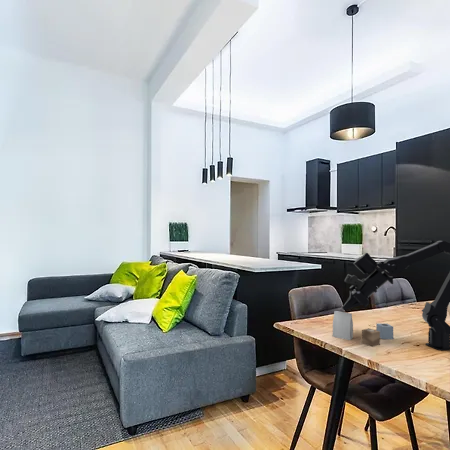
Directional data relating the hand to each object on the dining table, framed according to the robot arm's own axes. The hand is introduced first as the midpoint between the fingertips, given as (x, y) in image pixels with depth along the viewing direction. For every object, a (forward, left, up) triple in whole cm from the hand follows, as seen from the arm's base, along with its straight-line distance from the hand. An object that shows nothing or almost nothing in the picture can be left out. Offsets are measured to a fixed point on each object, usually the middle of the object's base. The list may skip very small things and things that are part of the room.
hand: (342, 308), depth 131 cm
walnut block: (-9, -6, -11) cm, 16 cm away
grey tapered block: (0, 0, -11) cm, 12 cm away
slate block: (-3, -17, -11) cm, 21 cm away
